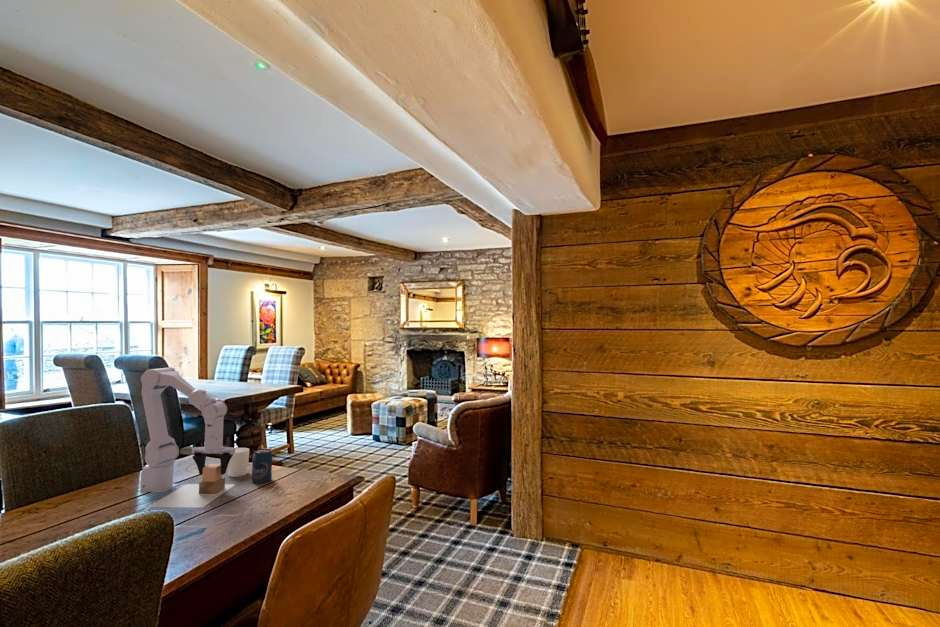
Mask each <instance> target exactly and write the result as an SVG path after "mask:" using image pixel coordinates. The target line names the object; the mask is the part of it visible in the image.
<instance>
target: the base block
mask: <svg viewBox="0 0 940 627" xmlns="http://www.w3.org/2000/svg"><path fill="white" fill-rule="evenodd" d="M198 484H199V494H217V493H218V492H220V491H221V490H223V489H224V488H225V484H226V477H225V476H222V478H221V479H219V480H218V481H216V482H202V480H201V481H199V482H198Z"/></svg>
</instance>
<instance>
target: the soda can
mask: <svg viewBox="0 0 940 627" xmlns="http://www.w3.org/2000/svg"><path fill="white" fill-rule="evenodd" d="M251 465H252V466H251V481H252V483H253V484H255V485H258V484H259V485H260V484H267V483H269V482H270V481H271V480H272V477H273V476H272V475H273V474H272V473H273V471H272V470H273V453H272V450H271V449H269V448H261V449H256V450H255V451H254V453H253V455H252V464H251Z"/></svg>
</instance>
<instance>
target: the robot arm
mask: <svg viewBox="0 0 940 627" xmlns="http://www.w3.org/2000/svg"><path fill="white" fill-rule="evenodd" d="M140 382H141V386H142V387H141V397H142V403H143V404H142V405H143V408H144V413H145V419H146V423H147V424H146V425H147V429H148V432H149V433H148V434H149V439H150V441H148V443H147V444H146V445H145V448H144V449H145V454H144V461H145V463H146V465H144V466H143V467H142V469H141V471H140V472H141V473H140V481H139V482H140V487H139V490H138V492H142V493H143V492H147V493H148V492H149V493H150V492H152V493H155V492H157V493H160V492H162V493H164V492H167V491H170V490H171V489H172V488H174V487H176V486H178V485H179V483H174V467H175V466H174V464H175V463H174V462H176V459H177V458H179V454H180V448H179V446H178V445H177V443H176V439H175V438H173V437H171V436H170V435H169V432H168V426H167V420H166V417H165V412H164V407H163V406H164V405H163V401H162V397H161V394H162V393H163V392H164V391H165V389H166V388H169V387H172V388H174V389H175V390H177V391H179V392H180V393H182V394H183V395H184V396H186V397H188V402H189V403H190V405H192V406H194V407H195V408H196V409H198V410H199V411H201V412H200V413H201V416H202V418H203V419H204V424H205V425H204V446H197V447H196V446H195V447H192V448H191V455H192V459H193V460H194V462H195V464H196V467H197V470H198V474H199V475H203V467H205V466H206V460H207V455H208V454H214V455H215V454H216V455H217V454H218V455H219V454H220V455H219V460H220V464H221V475H222V476H223V475H225V474H226V472H227V471H228V464H229V461H230V459H231V457H232V456H233V454H234V453H235V448H236V447H231V446H230V447H229V446H224V444H223V442H224V440H223V439H224V419H225V418H224V417H225V415H227V412H228V406H227V404H226V403H225V402H224V400H217V399H216V398H215V397H212V396H211V395H210V394H208V393H207V391H206V389H196V388H195V387H194V386H192V385H191V384H190V383H189V382H188V381H187V380H185V378H183V376H181V374H180V372H179V371H178V370H176V369H175V368H174V367H171V366H169V367H167V366H166V367H162V368H161V367H160V368H150V369H149V368H148V369H147V370H145V371H144V372H143V374H142V375H141V376H140Z"/></svg>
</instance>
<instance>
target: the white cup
mask: <svg viewBox="0 0 940 627" xmlns="http://www.w3.org/2000/svg"><path fill="white" fill-rule="evenodd" d="M234 448H235V453H234V454H233V456H232V457H231V459H230V461H229V464H228V466H227V475H228V476H229V477H231V478H237V477H243V476H245V475H247V474H248V467H249V458H250V448H247V447H234Z"/></svg>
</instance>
